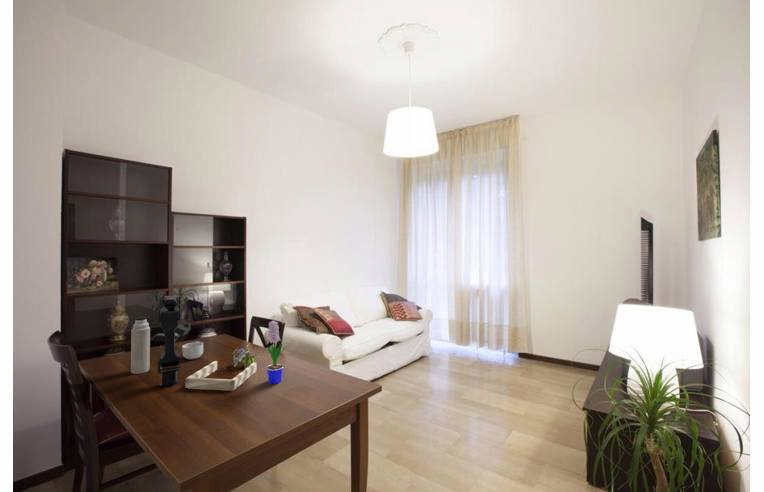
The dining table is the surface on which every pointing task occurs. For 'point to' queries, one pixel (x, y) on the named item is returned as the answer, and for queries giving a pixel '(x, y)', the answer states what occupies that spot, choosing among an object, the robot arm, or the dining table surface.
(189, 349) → the teacup
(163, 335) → the robot arm
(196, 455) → the dining table surface
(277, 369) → the hyacinth
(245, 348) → the passion flower
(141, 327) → the thermos bottle
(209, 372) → the pale wooden open frame
